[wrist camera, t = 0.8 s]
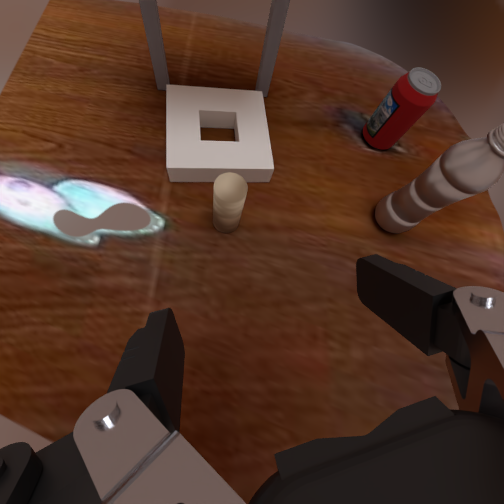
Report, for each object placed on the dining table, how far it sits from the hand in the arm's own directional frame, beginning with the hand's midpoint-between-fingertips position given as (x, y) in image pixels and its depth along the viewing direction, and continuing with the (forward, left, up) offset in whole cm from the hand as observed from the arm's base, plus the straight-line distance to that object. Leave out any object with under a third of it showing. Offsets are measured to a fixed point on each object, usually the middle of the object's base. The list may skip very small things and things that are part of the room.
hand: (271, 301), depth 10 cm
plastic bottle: (+15, +29, -25) cm, 41 cm away
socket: (-17, +25, -25) cm, 39 cm away
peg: (-8, +13, -25) cm, 29 cm away
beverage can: (+7, +45, -25) cm, 52 cm away
